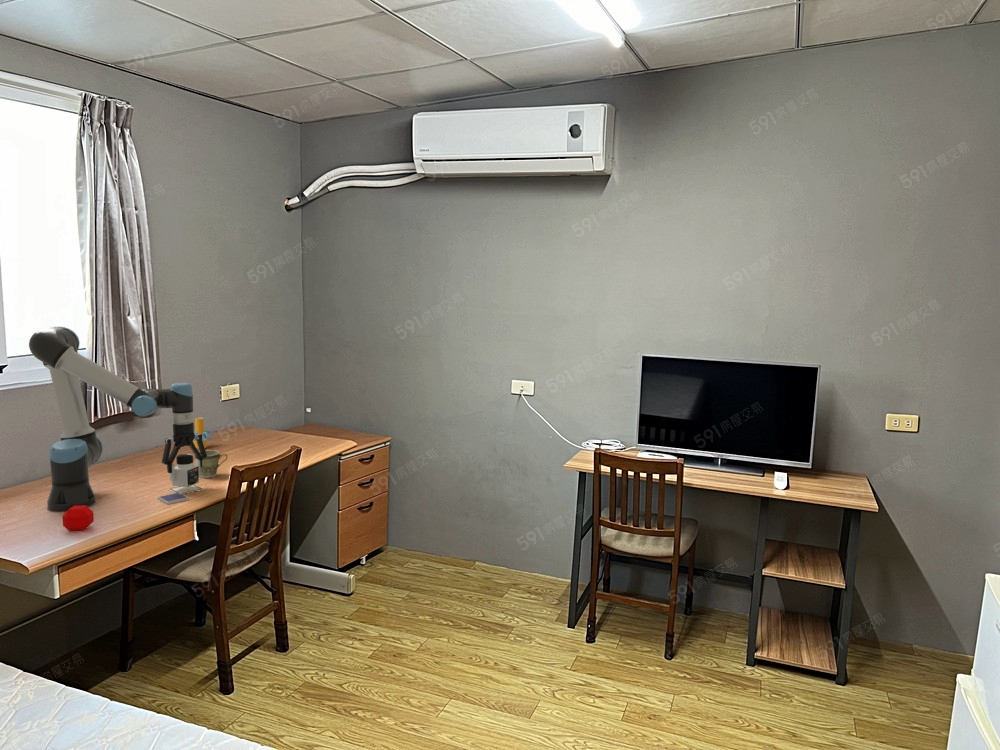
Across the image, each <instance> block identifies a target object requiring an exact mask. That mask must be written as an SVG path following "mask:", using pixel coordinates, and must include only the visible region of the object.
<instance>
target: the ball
mask: <svg viewBox="0 0 1000 750" xmlns="http://www.w3.org/2000/svg"><path fill="white" fill-rule="evenodd" d="M94 515H95V513H94V510H92V509H91V508H90V506H89V507H88V506H86V505H85V506H73V507H72V508H70V509H69V510H68V511H65V513H64V514H63V515H62V527H64V529H66V530H67V531H68V532H70V533H72V532H71V531H81V532H84V531H86V529H88V528H89V526H90V525H92V524H93V523H94V522H95V519H94V518H95V517H94ZM87 527H88V528H87Z"/></svg>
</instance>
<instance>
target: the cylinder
mask: <svg viewBox="0 0 1000 750" xmlns="http://www.w3.org/2000/svg"><path fill="white" fill-rule="evenodd" d="M194 422H195V423H194V434H201V435H202V441H203V445H204V448H206V447H207V448H208V440H210V439H212V438H213V437H214V432H213V431H212V430H205V418H204V417H196V418H194ZM208 433H211V436H209V434H208ZM193 443H194V444H195V447H196V448H199V447H198V444H197V440H196V439H195V438H194V440H193ZM207 448H206V449H207Z"/></svg>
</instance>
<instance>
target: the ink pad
mask: <svg viewBox="0 0 1000 750" xmlns="http://www.w3.org/2000/svg"><path fill="white" fill-rule="evenodd" d="M187 499H188V500H189V497H188V496H187V495H185V494H183V495H182V494H180V493H171V494H165V495H161V496H158V497H157V501H159V500H160V502H162V503H163V504H165V505H171V504H176V503H180V501H181V502H185V501H184V500H186V501H188V500H187Z"/></svg>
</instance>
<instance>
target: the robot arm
mask: <svg viewBox="0 0 1000 750" xmlns="http://www.w3.org/2000/svg"><path fill="white" fill-rule="evenodd" d="M28 347H29V350H30V353H31V354H32V356H34V358H36V359H37V360H39V361H40V362H42V364H43V367H45V368H47V369H48V370H49V373H50V378H51V381H52V382H51V383H52V386H53V389H54V390H53V391H54V394H55V399H56V403H57V407H58V412H59V416H60V420H61V425H62V430H63V432H62V434H61V435H59V436H60V437H59V438H60V440H59V441H57V442H55V443H53V444H52V445H50V448H49V464H50V477H51V478H50V479H51V489H50V492H49V496H48V498H47V503H46V504H47V509H48V510H49V511H53V512H67V511H68V510H69V509H70V508H72V507H73V506H85V505H86V506H88V507H89V508H90V507H92V506H93V505H95V504H96V495H95V492H94V491H93V488H92V485H91V484H90V477H89V476H90V475H89V468H90V467H91V466H92V465H94V464H95V463H96V462H98V461H99V459H100V458H101V456H102V454H103V451H104V445H103V443H102V440H101V439H100V438H99V437H97V433H96V429H95V428H93V427H92V426H90V421H89V419H88V414H87V413H88V412H87V409H86V404H85V400H84V395H83V391H82V387H81V386H82V385H81V382H80V380H81V381H83V382H84V383H86V384H88V385H89V386H91V387H93V388H94V389H97V390H98V391H100V392H102V393H103V394H106V395H107V396H110V397H111V398H113V399H114V400H116V401H118V402H120V403H121V404H123V405H125V406H127V407H129V408H130V409H131V410H132V412H133V413H134V414H135V415H137V416H139V417H148V416H150V415H152V414H153V413H155V412H156V411H157V410H158V409H172V410H171V411H172V413H171V414H172V434H173V435H172V437H169V438H165V439H164V442H165V443H164V444H165V445H164V450H163V453H162V459H161V464H163V465H166V468H167V469H166V471H167V473H168V474H169V481H170V482H172V481H173V482H174V481H175V469H174V467H175V464H173V463H174V461H175V459H176V457H177V456H178V455H177V454H178V453H179V451H180V449H181V448H183V447H189V448H190V449H191V451H192V453H193V455H194V454H195V456H196V457H197V459H195V458H194V465H198V469H199V476H201V473H200V468H201V467H202V460H203V458H206V457H207V454H206V451H207V450H206V449H205V448H204V445H203V441H202V435H201V434H194V433H195V431H194V430H195V423H194V422H195V418H194V394H193V386H192V384H191V383H188V382H176V383H172V384H171V386H170V388H144V389H142V388H140V387H138V386H136V385H134V384H133V383H131V382H129V381H128V380H125V379H124V378H122V377H120V376H118V375H117V374H115V373H114V372H112V371H110V370H108V369H106V368H105V367H103V366H101V365H99V364H98V363H96V362H95V361H93V360H91V359H89V358H87V357H85V356H84V355H82V354H80V353H79V352H78V351H79V348H80V338H79V336H78V334H77V332H75V331H73V329H70V328H69V327H66V326H51V327H48V328H42V329H39V330H36V332H34V333H33V334H32V335H31V336H30V338H29V342H28ZM194 438H195V439H196V440H197V444H198V447H199V450H198V449H197V448H196V447H195V444H194ZM173 442H174V445H173V448H172V444H173ZM171 449H172V450H171ZM199 452H200V453H201V455H200V453H199ZM195 456H194V457H195Z"/></svg>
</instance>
